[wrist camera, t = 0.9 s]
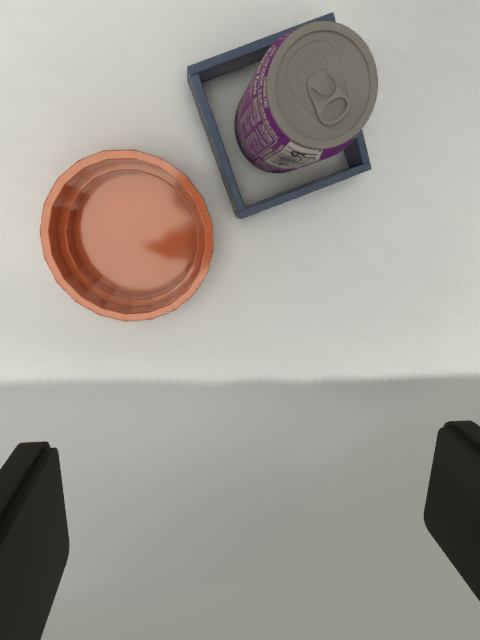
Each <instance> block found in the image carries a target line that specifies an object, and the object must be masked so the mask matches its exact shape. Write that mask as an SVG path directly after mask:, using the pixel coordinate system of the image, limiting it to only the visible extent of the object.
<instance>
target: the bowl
mask: <svg viewBox="0 0 480 640" xmlns="http://www.w3.org/2000/svg"><path fill="white" fill-rule="evenodd" d="M40 236H41V242H42V248H43V254H44V257H45V260H46V262H47V264H48V266H49V268H50V270H51V272H52V274H53V276H54V278H55V280H56V282H57V283H58V284H59V285H60V286H61V287H62V288H63V289H64V290H65V291H66V292H67V293H68V294H69V295H70V296H71V297H72V298H73V299H74V301H75V302H77V303H79V304H80V305H82V306H84V307H86V308H88V309H89V310H91V311H93V312H95V313H96V314H98V315H101V316H105V317H109V318H113V319H118V320H122V321H137V320H150V319H154V318H156V317H159V316H161V315H164V314H167V313H169V312H172V311H174V310H176V309H177V308H178V307H179V306H181V305H182V304H183V303H184V302H185V301H187V300H188V299H189V298H190V297H192V296H193V295H194V294H195V292H196V290H197V289H198V287H199V286H200V284H201V283H202V281H203V280H204V278H205V277H206V275H207V273H208V269H209V265H210V261H211V258H212V254H213V249H214V245H213V227H212V221H211V218H210V215H209V213H208V210H207V207H206V205H205V202H204V199H203V197H202V196H201V194H200V193H199V192H198V191H197V189H196V188H195V187H194V185H193V184H192V183H191V181H190V180H189V179H188V178H187V176H186V175H185V174H183V173H182V172H181V171H179V170H178V169H176V168H175V167H173V166H172V165H171V164H169V163H168V162H166V161H165V160H163V159H161V158H159V157H156V156H153V155H150V154H146V153H143V152H140V151H137V150H106V151H102V152H99V153H96V154H94V155H91V156H89V157H86V158H83V159H81V160H79V161H77V162H76V163H75V164H74V165H72V166H71V167H70V168H69V169H68V170H67V171H66V172H64V173H63V174H62V175H61V176H60V177H59V178H58V179H57V180H56V182H55V184H54V186H53V187H52V189H51V191H50V193H49V195H48V196H47V198H46V200H45V202H44V206H43V212H42V218H41V224H40Z"/></svg>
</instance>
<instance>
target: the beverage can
mask: <svg viewBox="0 0 480 640" xmlns="http://www.w3.org/2000/svg"><path fill="white" fill-rule="evenodd" d="M377 90H378V76H377V69H376V65H375V61H374V59H373V56H372V54H371V52H370V50H369V48H368V46H367V45H366V43H365V42H364V41H363V40H362V38H361V37H360V36H359V35H358V34H357V33H355V32H354V31H353V30H351V29H350V28H348V27H346V26H344V25H342V24H339V23H336V22H331V21H318V22H312V23H309V24H306V25H304V26H302V27H300V28H297V29H294V30H292V31H290V32H288V33H286V34H285V35H283V36H282V37H281V38H279V39H278V40H277V41H276V42H275V43H274V44H273V45H272V46H271V47H270V48H269V50H268V51H267V52H266V54H265V55H264V57H263V59H262V61H261V62H260V64H259V66H258V68H257V70H256V72H255V74H254V76H253V78H252V80H251V82H250V84H249V85H248V87H247V89H246V91H245V93H244V95H243V97H242V99H241V101H240V103H239V105H238V108H237V111H236V116H235V134H236V139H237V142H238V145H239V147H240V149H241V151H242V152H243V154H244V155H245V157H246V158H247V159H248V160H249V161H250V162H251V163H252V164H253V165H255V166H256V167H258V168H260V169H262V170H264V171H267V172H272V173H284V172H289V171H292V170H295V169H298V168H300V167H303V166H306V165H309V164H312V163H315V162H318V161H321V160H324V159H327V158H329V157H332V156H334V155H336V154H338V153H339V152H341V151H342V150H344V149H345V148H346V147H347V146H349V145H350V144H351V143H352V142H353V141H354V139H355V138H356V137H357V135H358V134H359V133H360V131H361V129H362V128H363V126H364V125H365V124H366V122H367V120H368V119H369V117H370V115H371V113H372V111H373V108H374V105H375V101H376V97H377Z"/></svg>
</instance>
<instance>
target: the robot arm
mask: <svg viewBox="0 0 480 640" xmlns="http://www.w3.org/2000/svg"><path fill="white" fill-rule="evenodd" d="M424 522H425V525H426V527H427V529H428V531H429V532H430V534H431V535H432V536H433V538H434V539H435V541H436V542H437V543H438V545H439V546H440V547H441V549H442V550H443V552H444V553H445V554H446V555H447V557H448V558H449V560H450V561H451V562H452V564H453V565H454V567H455V568H456V569H457V571H458V572H459V573H460V575H461V576H462V577H463V579H464V580H465V582H466V583H467V584H468V586H469V587H470V588H471V590H472V591H473V593H474V594H475V595H476V597H477V598H478V599H479V601H480V426H478V425H477V424H476V423H474V422H472V421H450V422H447V423H445V425H444V427H443V428H440V430H439V431H438V435H437V441H436V447H435V452H434V458H433V464H432V470H431V475H430V481H429V487H428V492H427V498H426V504H425V509H424ZM68 555H69V536H68V528H67V519H66V511H65V503H64V494H63V487H62V478H61V470H60V462H59V454H58V450H57V448H50V445H49V443H48V442H27V443H19V444H18V445H17V447H16V448H15V449H14V451H13V452H12V454H11V455H10V456H9V458H8V459H7V461H6V462H5V464H4V465H3V466H2V468H1V469H0V640H40V639H41V636H42V633H43V630H44V627H45V624H46V621H47V618H48V615H49V613H50V610H51V606H52V604H53V601H54V598H55V595H56V592H57V589H58V586H59V583H60V580H61V577H62V574H63V571H64V568H65V566H66V562H67V559H68Z"/></svg>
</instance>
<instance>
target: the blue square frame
mask: <svg viewBox="0 0 480 640" xmlns="http://www.w3.org/2000/svg"><path fill="white" fill-rule="evenodd" d="M318 21H331V22H335V17H334V13H333V12H332V13H329V14H327V15H324V16H321V17H319V18H316V19H313V20H311V21H308V22H305V23H303V24H300V25H297V26H295V27H292V28H289V29H287V30H284V31H281V32H279V33H276V34H273V35H271V36H268V37H265V38H263V39H260V40H257V41H255V42H252V43H249V44H247V45H244V46H241V47H239V48H236V49H233V50H231V51H228V52H225V53H223V54H220V55H217V56H215V57H212V58H209V59H207V60H204V61H201V62H199V63H196V64H193V65H191V66H188V67H187V80H188V83H189V86H190V89H191V91H192V94H193V97H194V100H195V103H196V105H197V108H198V111H199V114H200V117H201V120H202V122H203V125H204V128H205V131H206V134H207V136H208V139H209V142H210V145H211V148H212V151H213V153H214V156H215V159H216V162H217V165H218V167H219V170H220V173H221V176H222V179H223V182H224V184H225V187H226V190H227V193H228V196H229V198H230V201H231V204H232V207H233V210H234V211H235V215H236V218H240V219H243V218H245V217H248V216H250V215H253V214H256V213H258V212H261V211H263V210H266V209H269V208H271V207H274V206H276V205H279V204H282V203H284V202H287V201H289V200H292V199H295V198H297V197H300V196H302V195H305V194H308V193H310V192H313V191H315V190H318V189H321V188H323V187H326V186H329V185H331V184H334V183H336V182H339V181H342V180H344V179H347V178H349V177H352V176H355V175H357V174H360V173H362V172H365V171H368V170H370V169H371V165H370V162H369V157H368V152H367V148H366V144H365V140H364V136H363V132H362V129H361V131H360V133H359V134H358V135H357V137H356V138H355V139H354V141H353V142H352V143H351V144H350V145H349V146H347V147H346V148H345V149H344V151H345V154H346V158H347V162H348V166H349V168H346V169H343V170H341V171H338V172H336V173H333V174H330V175H328V176H325V177H323V178H320V179H317V180H315V181H312V182H310V183H307V184H304V185H302V186H299V187H296V188H294V189H291V190H289V191H286V192H283V193H281V194H278V195H276V196H273V197H270V198H268V199H265V200H263V201H260V202H257V203H255V204H252V205H250V206H247V207H244V204H243V201H242V198H241V195H240V192H239V190H238V187H237V184H236V181H235V178H234V175H233V172H232V169H231V166H230V164H229V161H228V158H227V155H226V152H225V149H224V146H223V143H222V140H221V138H220V135H219V132H218V129H217V126H216V123H215V120H214V117H213V114H212V112H211V109H210V106H209V103H208V100H207V97H206V94H205V91H204V88H203V86H202V82H205V81H208V80H210V79H213V78H216V77H218V76H221V75H224V74H226V73H229V72H232V71H234V70H237V69H239V68H242V67H245V66H247V65H250V64H253V63H255V62H258V61H261V60H262V59H263V57H264V55H265V54H266V52H267V51H268V50H269V48H270V47H271V46H272V45H273V44H274V43H275V42H276V41H277V40H278V39H279V38H281V37H282V36H283V35H285V34H286V33H288V32H290V31H292V30H294V29H297V28H300V27H302V26H304V25H306V24H309V23H312V22H318Z"/></svg>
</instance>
